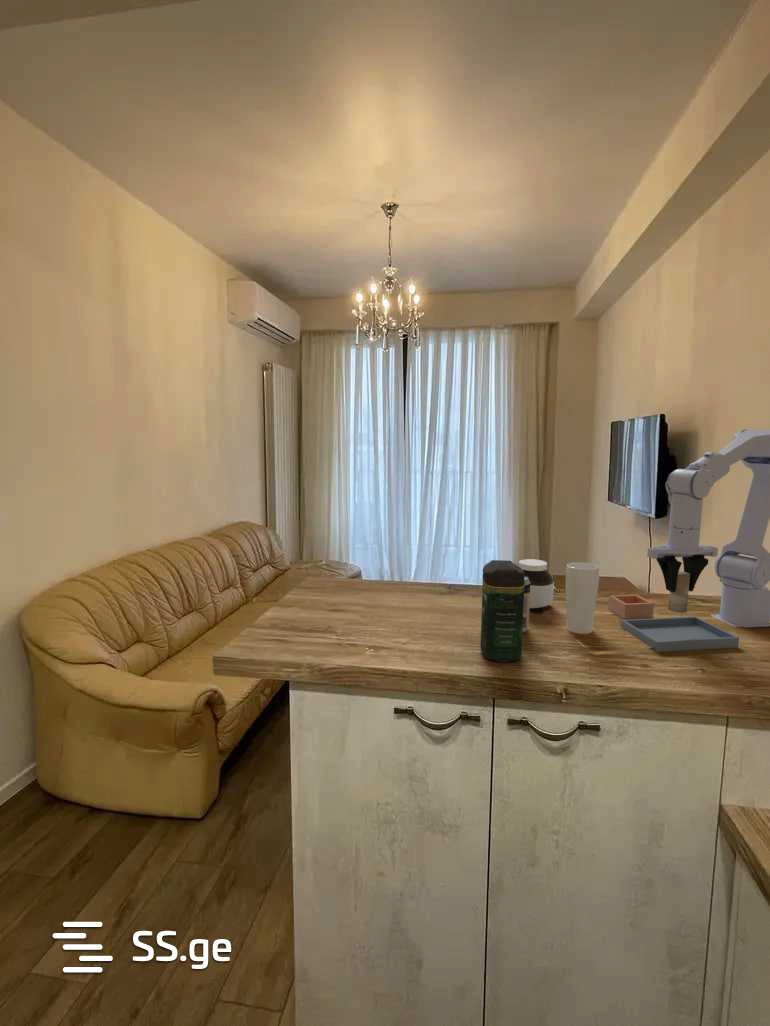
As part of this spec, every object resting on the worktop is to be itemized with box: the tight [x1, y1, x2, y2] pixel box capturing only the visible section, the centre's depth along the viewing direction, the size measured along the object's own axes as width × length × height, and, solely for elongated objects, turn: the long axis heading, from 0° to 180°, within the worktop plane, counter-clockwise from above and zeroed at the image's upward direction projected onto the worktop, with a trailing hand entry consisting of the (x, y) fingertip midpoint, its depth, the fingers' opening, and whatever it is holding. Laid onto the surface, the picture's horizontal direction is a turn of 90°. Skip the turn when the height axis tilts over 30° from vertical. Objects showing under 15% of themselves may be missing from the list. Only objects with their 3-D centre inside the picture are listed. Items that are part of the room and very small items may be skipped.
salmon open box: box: [607, 594, 655, 620], centre depth 131 cm, size 7×7×4 cm
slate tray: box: [620, 615, 740, 653], centre depth 117 cm, size 18×13×2 cm
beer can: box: [522, 576, 530, 634], centre depth 121 cm, size 5×5×12 cm
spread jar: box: [518, 558, 555, 613], centre depth 136 cm, size 12×11×12 cm
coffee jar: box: [480, 559, 525, 663], centre depth 108 cm, size 10×8×19 cm
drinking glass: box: [565, 561, 600, 635], centre depth 120 cm, size 7×7×15 cm
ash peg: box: [667, 570, 690, 614], centre depth 116 cm, size 4×4×8 cm
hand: (679, 590), depth 116 cm, fingers closed on ash peg, 3 cm apart
